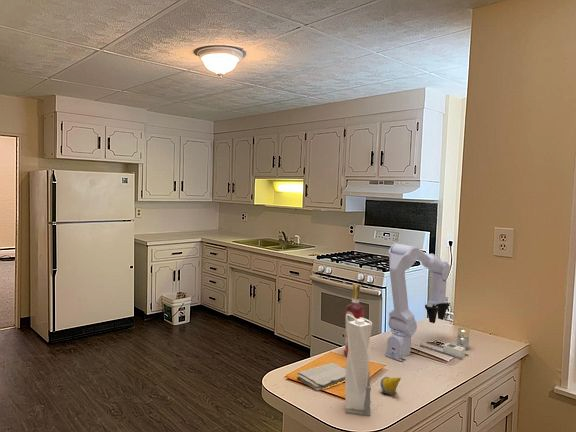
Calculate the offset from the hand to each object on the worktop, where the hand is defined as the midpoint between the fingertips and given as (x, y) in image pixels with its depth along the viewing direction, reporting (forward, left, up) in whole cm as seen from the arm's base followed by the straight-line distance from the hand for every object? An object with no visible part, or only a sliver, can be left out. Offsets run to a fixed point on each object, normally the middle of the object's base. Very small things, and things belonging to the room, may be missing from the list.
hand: (436, 320), depth 181 cm
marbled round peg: (+2, -11, -9) cm, 14 cm away
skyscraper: (-68, -10, -11) cm, 70 cm away
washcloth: (-60, +8, -11) cm, 62 cm away
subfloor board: (-3, -9, -10) cm, 14 cm away
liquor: (-37, +15, -11) cm, 41 cm away
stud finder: (-7, -11, -9) cm, 16 cm away
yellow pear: (-52, -12, -11) cm, 54 cm away
